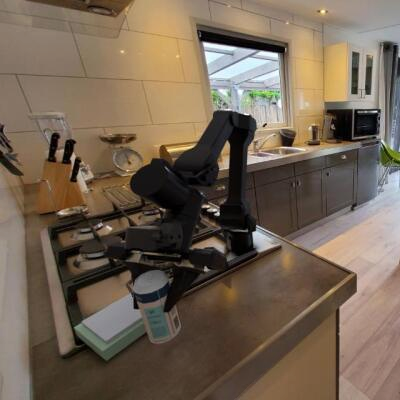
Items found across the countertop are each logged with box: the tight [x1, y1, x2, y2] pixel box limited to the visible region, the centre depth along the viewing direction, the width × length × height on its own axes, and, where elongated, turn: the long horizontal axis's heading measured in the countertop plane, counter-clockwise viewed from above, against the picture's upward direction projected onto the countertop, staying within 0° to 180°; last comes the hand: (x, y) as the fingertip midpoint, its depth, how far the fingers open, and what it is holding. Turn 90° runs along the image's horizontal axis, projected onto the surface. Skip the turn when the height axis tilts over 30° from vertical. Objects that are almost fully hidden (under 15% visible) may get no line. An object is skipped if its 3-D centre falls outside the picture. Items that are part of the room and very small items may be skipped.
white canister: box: [132, 269, 182, 345], centre depth 41 cm, size 5×5×12 cm
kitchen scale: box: [73, 292, 147, 362], centre depth 49 cm, size 11×10×3 cm
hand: (151, 310), depth 40 cm, fingers closed on white canister, 5 cm apart
